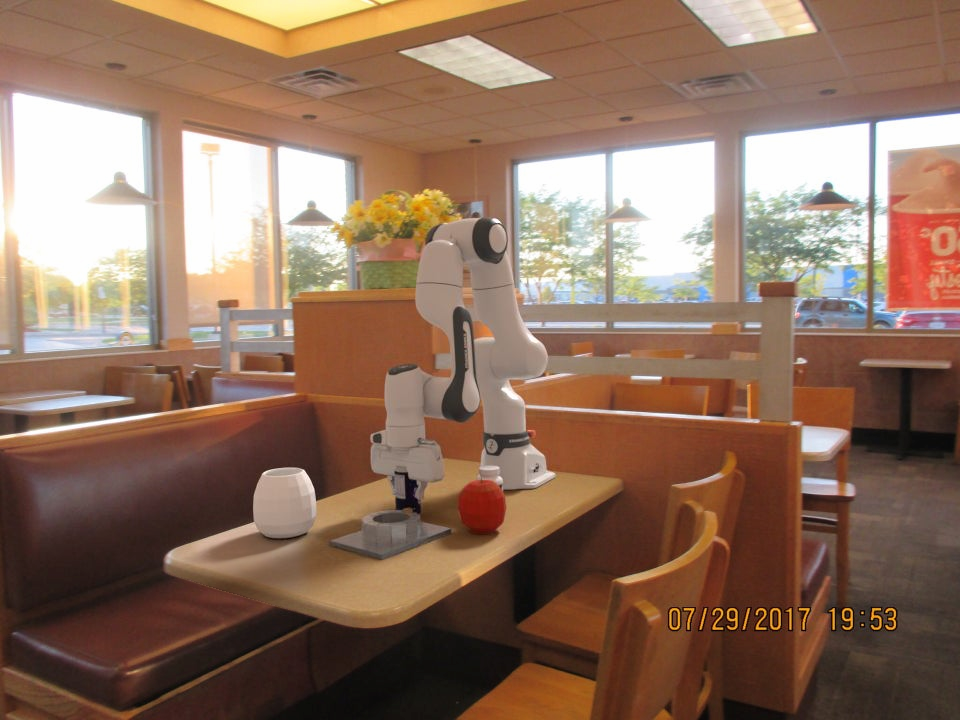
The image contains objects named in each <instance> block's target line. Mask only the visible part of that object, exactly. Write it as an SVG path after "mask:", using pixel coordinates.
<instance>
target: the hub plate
mask: <svg viewBox="0 0 960 720" xmlns="http://www.w3.org/2000/svg"><path fill="white" fill-rule="evenodd" d="M421 520H422V519H421V514H418V513H416V512H412V508H406V509H403V510H396V509H391V510H390V509H389V510H381V511H376V512H372V513H370V514H366V515H365V516H363V517H362V518H361V530H359V531H356V532H353V533H350V534H346V535H344V536H339V537H337V538H335V539H332V540H329V542H330V543H329V544H330V546H331V547H335V548H338V549H341V550H345V551H347V552H348V551H349V552H352V553H355V554H360V555H363V556H367V557H369V558H370V557H371V558H374V559H378V560H381V561H382V560H385V559H388V558H391V557H393V556H395V555H398V554H401V553H403V552H406V551H409V550H411V549H414V548H417V547H419V546H422V545H424V544H426V542H427V543H430V542H431V541H435V540H438V539H440V538H443V537H445V536H448V535H450V533H451V534H452V528H450V527H447V526H441V525H436V524H432V523H427V522H423V521H421ZM447 534H448V535H447ZM444 535H445V536H444ZM442 536H443V537H442ZM439 537H440V538H439ZM437 538H438V539H437ZM434 539H435V540H434ZM429 541H430V542H429ZM421 544H422V545H421ZM416 546H417V547H416ZM413 547H414V548H413Z"/></svg>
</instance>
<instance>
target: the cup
mask: <svg viewBox="0 0 960 720" xmlns="http://www.w3.org/2000/svg"><path fill="white" fill-rule="evenodd" d="M252 506H253V507H252V513H253V522H254V525H255V526H256V529H257V530H258V531H259V533H260V534H261V533H262V535H264V536H265V537H267V538H271V539H287V538H295V537H298V536H302V535H304V534H305V533H307V532H308V531H309V530H311V528H312V527H313V526H314V523H315V520H316V518H317V501H316V492H315V488H314V486H313V483H312V480H311V478H310V477H309V475H308V474H307V472H306V471H305V469H302V468H301V467H300V468H299V467H281V468H273V469H269V470H266V471H264V472H262V473H261V476H260V477H259V479H258V482H257V484H256V487H255V490H254V494H253V502H252Z"/></svg>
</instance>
